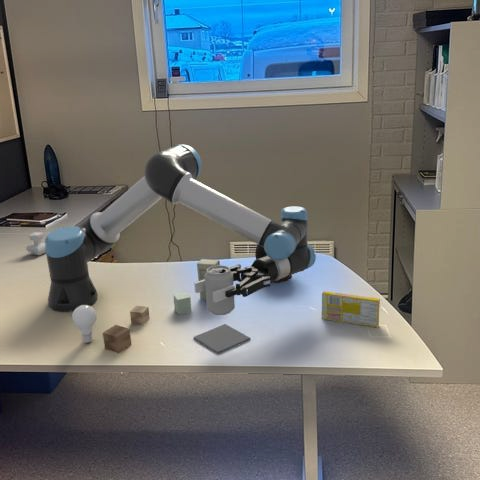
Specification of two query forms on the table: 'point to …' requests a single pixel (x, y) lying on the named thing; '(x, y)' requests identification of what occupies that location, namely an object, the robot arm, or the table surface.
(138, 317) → the oak block
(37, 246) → the stamp
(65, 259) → the robot arm
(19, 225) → the table surface
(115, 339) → the walnut block
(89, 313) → the lightbulb
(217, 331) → the coaster
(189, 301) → the sage block
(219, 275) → the can
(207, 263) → the skincare box
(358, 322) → the candy box
